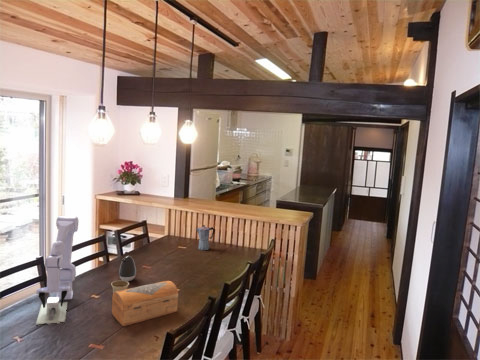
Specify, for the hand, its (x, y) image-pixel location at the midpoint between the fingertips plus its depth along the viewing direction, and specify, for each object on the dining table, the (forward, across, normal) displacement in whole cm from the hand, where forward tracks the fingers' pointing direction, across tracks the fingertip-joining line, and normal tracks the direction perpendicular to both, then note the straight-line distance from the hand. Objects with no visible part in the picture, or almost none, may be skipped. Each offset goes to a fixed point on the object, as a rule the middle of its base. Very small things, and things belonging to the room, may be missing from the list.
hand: (53, 306), depth 182 cm
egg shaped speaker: (+4, +38, +36) cm, 52 cm away
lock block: (+3, 0, 0) cm, 3 cm away
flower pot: (+4, +32, +10) cm, 34 cm away
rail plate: (+4, 0, -1) cm, 4 cm away
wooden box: (+4, +43, -8) cm, 44 cm away
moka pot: (+4, +103, +90) cm, 137 cm away
